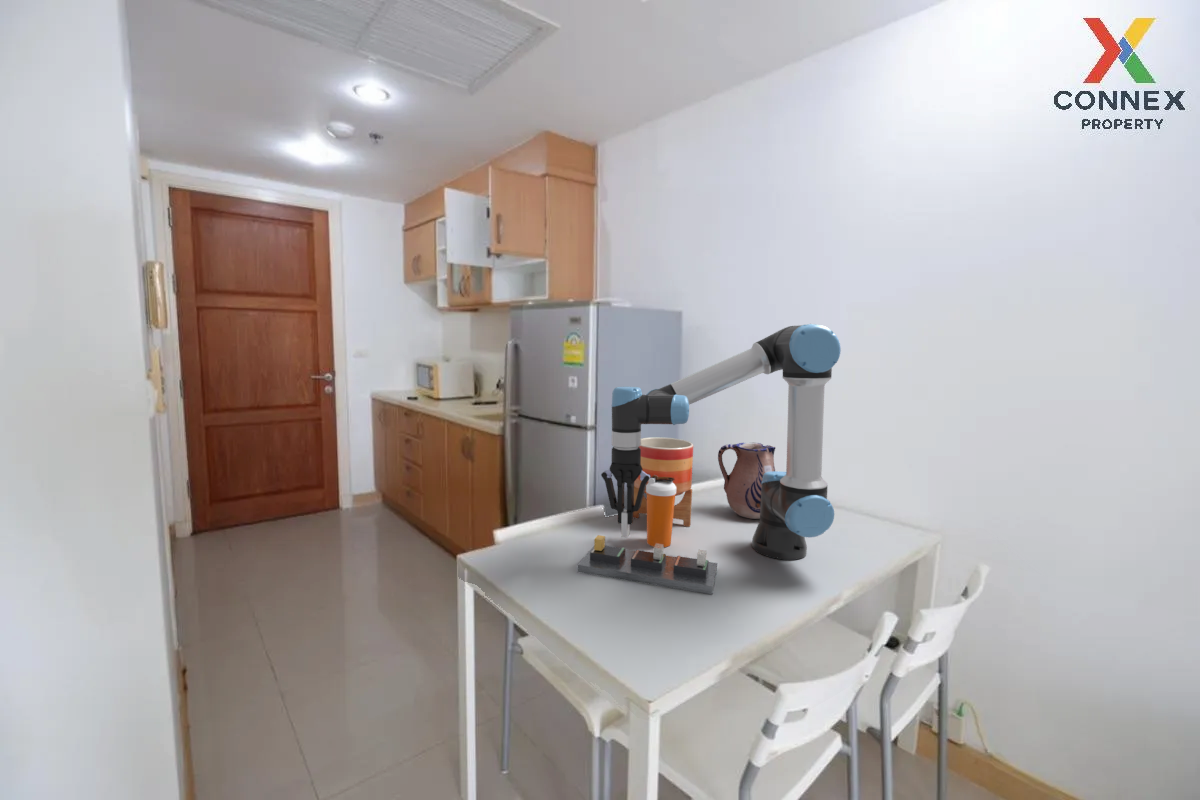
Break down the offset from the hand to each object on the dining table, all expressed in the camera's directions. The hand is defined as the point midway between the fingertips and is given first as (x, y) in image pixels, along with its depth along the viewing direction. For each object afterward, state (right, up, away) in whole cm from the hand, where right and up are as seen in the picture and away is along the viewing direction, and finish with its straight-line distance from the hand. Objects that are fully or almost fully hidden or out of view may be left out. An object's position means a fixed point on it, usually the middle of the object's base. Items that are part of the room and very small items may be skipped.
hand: (625, 535), depth 135 cm
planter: (+14, -5, +37) cm, 40 cm away
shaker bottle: (+11, -7, +18) cm, 22 cm away
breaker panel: (+6, -9, -1) cm, 11 cm away
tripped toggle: (-7, -4, +2) cm, 8 cm away
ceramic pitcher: (+45, -5, +46) cm, 65 cm away
